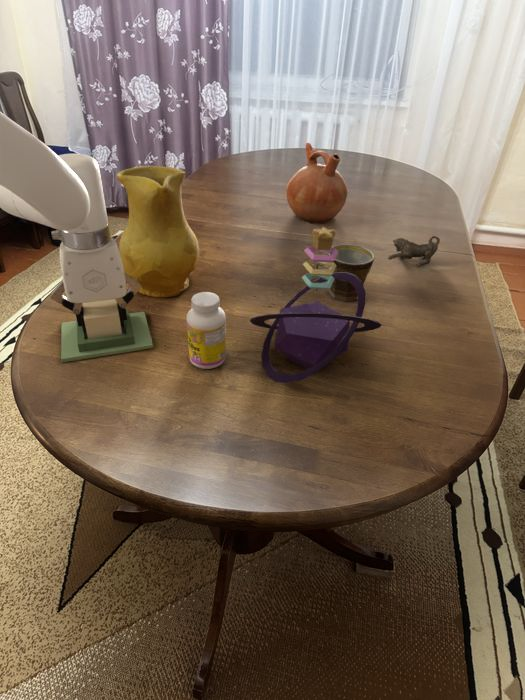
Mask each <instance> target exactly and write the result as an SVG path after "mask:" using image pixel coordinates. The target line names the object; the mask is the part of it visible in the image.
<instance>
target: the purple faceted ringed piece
mask: <svg viewBox="0 0 525 700" xmlns="http://www.w3.org/2000/svg"><path fill="white" fill-rule="evenodd" d="M312 236H313V239H312V246H309V247H306V249H303V251H304V252H305V254H306V255H307V257H309V258H310V260H307V261H305V262H303V263H302V265H303V266H304V268H305V269H306V270H307V271H308V272H309V273H307V274H304V275H303V276H301V279H302V280H303V281H304V282H305V284H306V285H305V287H303V288H302V289H301V290H299V291H298V292H297V293H296V294H295V295H294V296H293V297H292V298H290V300H289V301H288V302H287V303H286V304H285V305H284V306H283V308H282V307H281V308H280V310H279V313H267V314H262V315H257V316H253V317H251V318H250V319H249V322H250V323H251V324H252V325H254V326H257V327H261V328H264V329H268V332H267V335H266V337H265V339H264V342H263V346H262V352H261V363H262V369H263V371H264V373H265V375H266V377H267V378H269V379H271V380H272V381H274V382H275V383H282V384H290V383H295V382H299V381H302V380H304V379H306V378H308V377H310V376H312V375H314V374H316V373H317V372H319V371H320V370H321V369H323V368H324V367H326V366H327V365H328V364H329V363H331V362H332V360H334V359H336V358H338V357H339V356H341V355H342V354H344V353H345V352H347V351H349V348H350V346H349V345H350V340H351V338H352V337H353V336H354V334H355V333H363V332H364V333H365V332H369V331H374V330H377V329H379V328H381V327H382V323H380V322H379V321H377V320H374V319H371V318H367V317H363V314H364V310H365V306H366V289H365V285H363V283H362V281H361V280H360V279H359V278H358V277H357V276H356V275H354V274H351V273H348V272H336V273H333V272H334V270H335V267H336V264H335V263H334V262H333V261H334V260H335V258H336V256H337V254H338V251H337V250H336V249H335V248H332V247H333V242H334V239H335V236H336V229H327V228H326V227H325V226H323V227H322V228H321V229H319V228H313V229H312ZM319 251H320V252H324V253H327V255H326V254H325V255H323V254H322V255H321V254H314V253H317V252H319ZM328 253H330V254H331V255H330V256H328ZM316 264H319V266H320V265H321V266H323V267H326V268H328V267H329V270H328V269H322V268H321V269H320V268H318V269H316V268H313V266H316ZM314 278H317V279H316V280H313V281H311V280H312V279H314ZM337 279H342V280H345V281H348V282H350V283H351V284H352V285H353V286H354V287H355V289H356V292H357V296H358V298H357V307H356V311H355V313H354V315H347V314H342V313H340V312H338V311H337V310H335V309H333V308H331V307H329V306H327V305H325V304H324V303H322V302H320V301H318V300H317V301H312V302H307V303H303V304H298V305H294V303H296V301H297V300H299V299H300V298H301V297H302V296H303V295H304V294H306V293H307V292H310V290H329V288H331V285H332V283H333V281H334V280H337ZM301 301H302V302H303V300H301ZM293 305H294V306H293ZM269 320H274V321H273V322H272V324H270V323H268V322H266V321H269ZM351 322H352V323H351ZM359 324H362V325H363V326H360V327H358V326H359ZM275 330H276V331H277V332H276V339H275V344H274V345H275V346H274V349H276V350H277V351H278V352H280V354H282V355H283V357H285V358H286V359H287V360H288V361H289V362H292V363H293V364H296V365H298V366H301V367H302V368H305V370H303V371H299V372H295V373H283V372H280V371H278V370H277V369H275V368H274V365H273V364H272V362H271V359H270V349H271V348H270V347H271V342H272V338H273V336H274V334H275Z"/></svg>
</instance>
